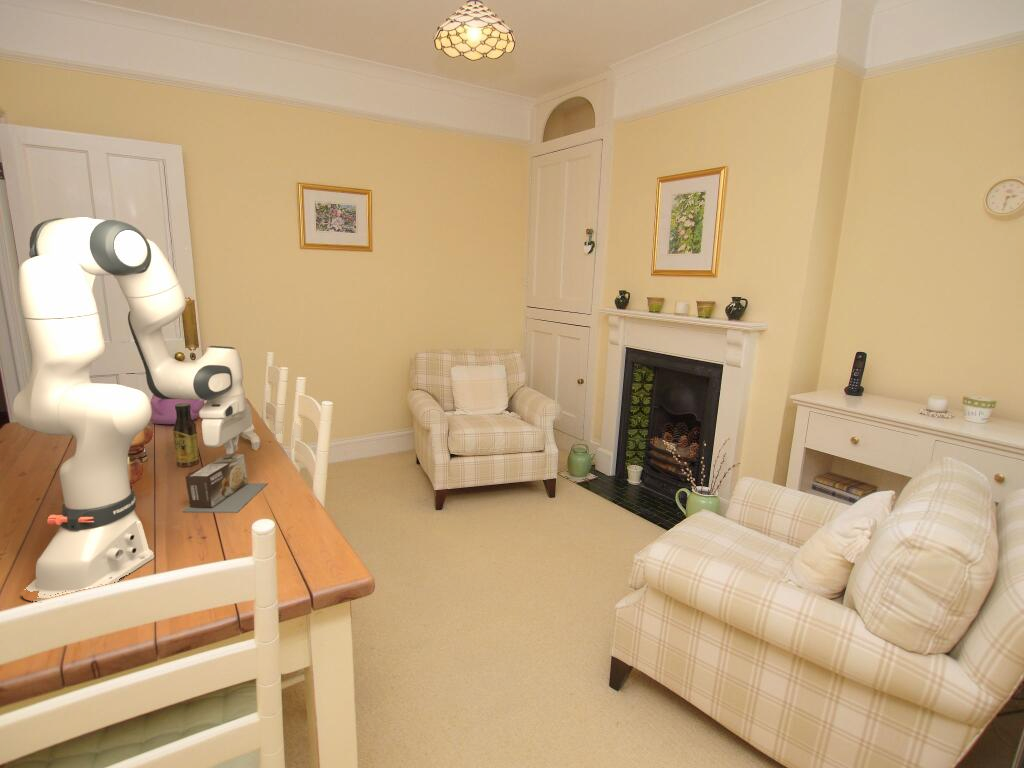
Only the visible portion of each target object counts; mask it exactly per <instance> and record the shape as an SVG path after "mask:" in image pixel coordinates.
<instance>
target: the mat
mask: <svg viewBox="0 0 1024 768" xmlns="http://www.w3.org/2000/svg"><path fill="white" fill-rule="evenodd" d="M267 485H268V483H267V482H266V483H264V482H263V483H262V482H261V483H260V482H259V483H258V482H257V483H255V482H254V483H253V482H250V483H249V482H248V483H247V484H246V485H244V486H243V487H241V488H240V489H238V490H237V491H235V492H234V493H232V494H231V495H229V496H228V497H227V498H225V499H224V500H222V501H221V502H219V503H218V504H216V505H215V506H213V507H205V508H190V505H187V507H186V508H185V509H183V510H182V513H217V514H218V513H223V514H224V513H226V514H227V513H230V514H231V513H235V514H237V513H239V512H240V511H241V510H242V509H243V508H245V507H246V506H247V504H249V502H250V501H252V500H253V499H254V498H255V497H254V496H255V495H256V496H257V495H258V494H259V493H260V492H261V491H262V490H263V489H264V488H266V486H267ZM257 493H258V494H257ZM253 497H254V498H253Z"/></svg>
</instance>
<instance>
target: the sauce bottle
mask: <svg viewBox="0 0 1024 768" xmlns="http://www.w3.org/2000/svg"><path fill="white" fill-rule="evenodd" d="M190 408H191V406H190V403H179V404H176V405H175V409H176V414H177V419H176V422H175V424H174V427H173V430H172V432H173V442H174V443H173V444H174V453H175V461H176V464H177V467H183V468H188V467H193V466H195V465H197V464H199V462H200V456H199V442H198V441H199V440H198V432H197V424H196V422H195V421H194V420H192V419H191V414H190Z"/></svg>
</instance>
